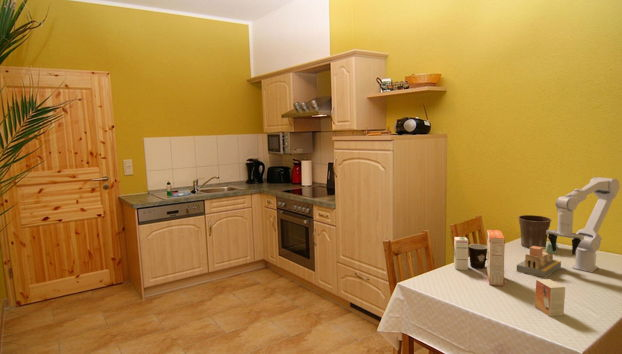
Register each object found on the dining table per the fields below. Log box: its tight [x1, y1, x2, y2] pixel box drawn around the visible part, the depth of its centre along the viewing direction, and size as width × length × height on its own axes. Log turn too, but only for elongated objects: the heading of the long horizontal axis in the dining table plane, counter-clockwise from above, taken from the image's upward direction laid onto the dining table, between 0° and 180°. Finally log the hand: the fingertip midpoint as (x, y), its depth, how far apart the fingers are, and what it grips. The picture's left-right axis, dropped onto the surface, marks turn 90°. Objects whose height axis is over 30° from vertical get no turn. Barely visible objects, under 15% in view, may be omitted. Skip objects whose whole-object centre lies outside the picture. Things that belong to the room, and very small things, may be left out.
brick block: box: [529, 246, 543, 258], centre depth 182 cm, size 4×4×4 cm
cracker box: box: [486, 229, 506, 287], centre depth 173 cm, size 14×6×21 cm, turn 160°
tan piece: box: [524, 247, 554, 269], centre depth 185 cm, size 18×6×6 cm, turn 131°
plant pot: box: [518, 214, 552, 249], centre depth 222 cm, size 16×16×16 cm
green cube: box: [546, 241, 559, 255], centre depth 187 cm, size 4×4×4 cm
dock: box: [516, 259, 562, 278], centre depth 186 cm, size 20×12×3 cm, turn 131°
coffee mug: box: [468, 243, 487, 270], centre depth 190 cm, size 12×9×10 cm
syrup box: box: [453, 236, 469, 271], centre depth 189 cm, size 6×6×14 cm
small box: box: [534, 278, 566, 317], centre depth 143 cm, size 8×6×10 cm
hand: (563, 252), depth 180 cm, fingers open, 7 cm apart
